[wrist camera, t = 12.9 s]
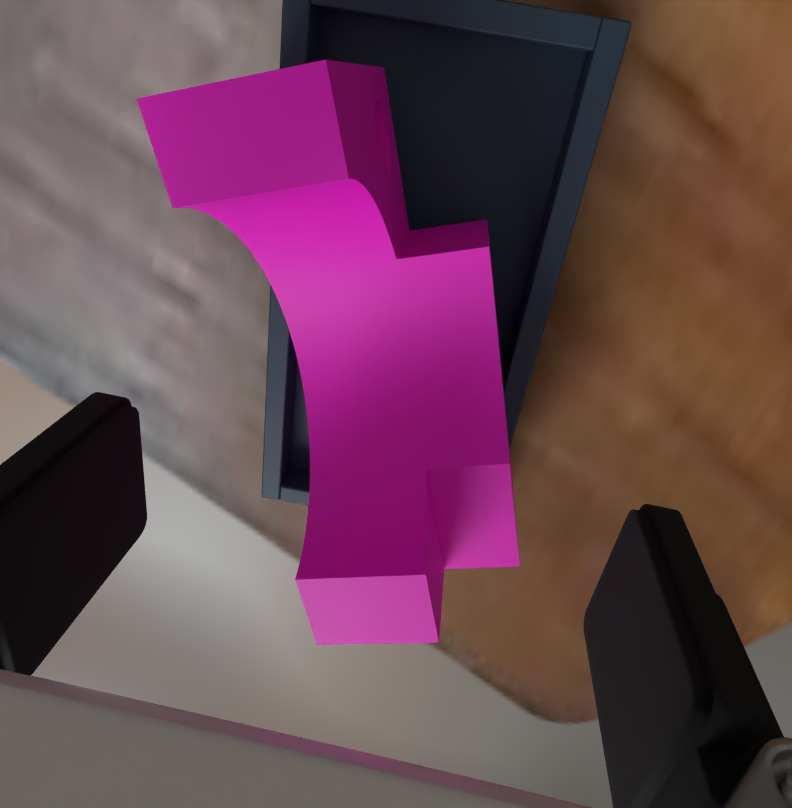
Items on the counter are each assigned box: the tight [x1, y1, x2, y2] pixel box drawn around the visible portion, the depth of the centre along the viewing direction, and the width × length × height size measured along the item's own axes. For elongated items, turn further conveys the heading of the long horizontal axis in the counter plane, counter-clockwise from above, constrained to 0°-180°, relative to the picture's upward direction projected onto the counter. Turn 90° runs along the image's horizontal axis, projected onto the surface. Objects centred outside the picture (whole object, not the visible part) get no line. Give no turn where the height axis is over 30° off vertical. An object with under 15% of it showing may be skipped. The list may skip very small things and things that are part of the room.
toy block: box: [137, 60, 519, 645], centre depth 17 cm, size 15×6×8 cm, turn 10°
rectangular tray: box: [262, 0, 631, 506], centre depth 21 cm, size 10×19×2 cm, turn 172°
